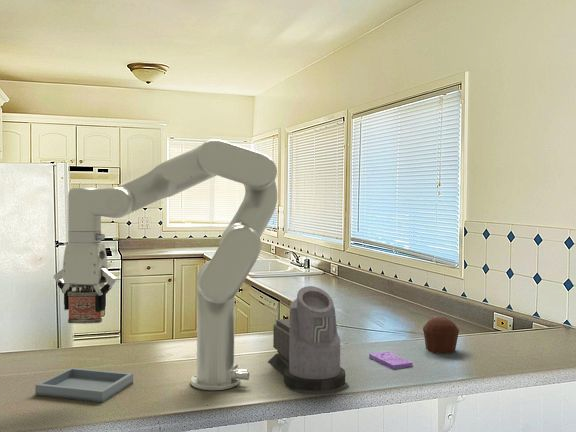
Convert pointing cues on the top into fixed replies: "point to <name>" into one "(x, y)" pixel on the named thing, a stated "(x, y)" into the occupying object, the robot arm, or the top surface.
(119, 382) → the tray
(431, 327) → the muffin
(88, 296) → the lighter
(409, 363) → the sponges
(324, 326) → the juicer
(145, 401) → the top surface
